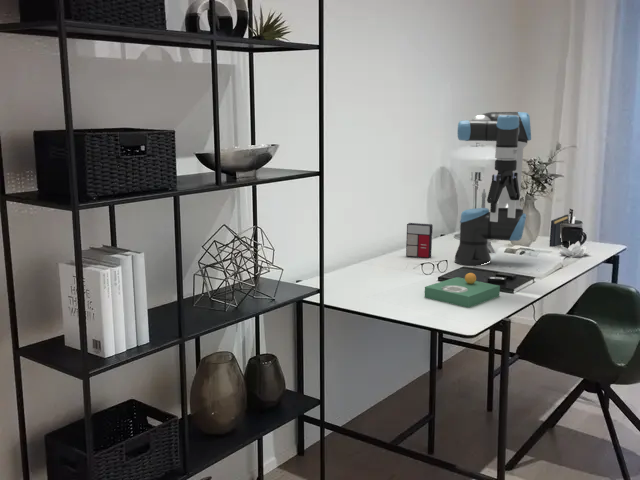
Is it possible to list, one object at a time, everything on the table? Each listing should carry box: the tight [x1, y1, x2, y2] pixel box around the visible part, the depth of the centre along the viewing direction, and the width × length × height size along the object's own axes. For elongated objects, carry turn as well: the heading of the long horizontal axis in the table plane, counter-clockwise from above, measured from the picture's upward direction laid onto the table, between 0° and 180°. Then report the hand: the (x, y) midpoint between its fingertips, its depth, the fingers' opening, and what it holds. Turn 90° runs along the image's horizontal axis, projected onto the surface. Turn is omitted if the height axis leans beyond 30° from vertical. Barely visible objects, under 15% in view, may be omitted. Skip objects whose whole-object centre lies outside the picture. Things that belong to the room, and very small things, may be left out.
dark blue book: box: [549, 214, 569, 248], centre depth 319 cm, size 20×2×15 cm, turn 139°
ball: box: [464, 272, 477, 284], centre depth 238 cm, size 4×4×4 cm
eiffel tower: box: [480, 188, 496, 254], centre depth 306 cm, size 13×13×30 cm
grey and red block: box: [405, 222, 433, 259], centre depth 299 cm, size 11×4×15 cm, turn 67°
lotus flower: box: [558, 240, 591, 258], centre depth 293 cm, size 14×15×9 cm
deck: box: [424, 276, 501, 308], centre depth 235 cm, size 18×20×4 cm
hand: (502, 219), depth 240 cm, fingers open, 12 cm apart
